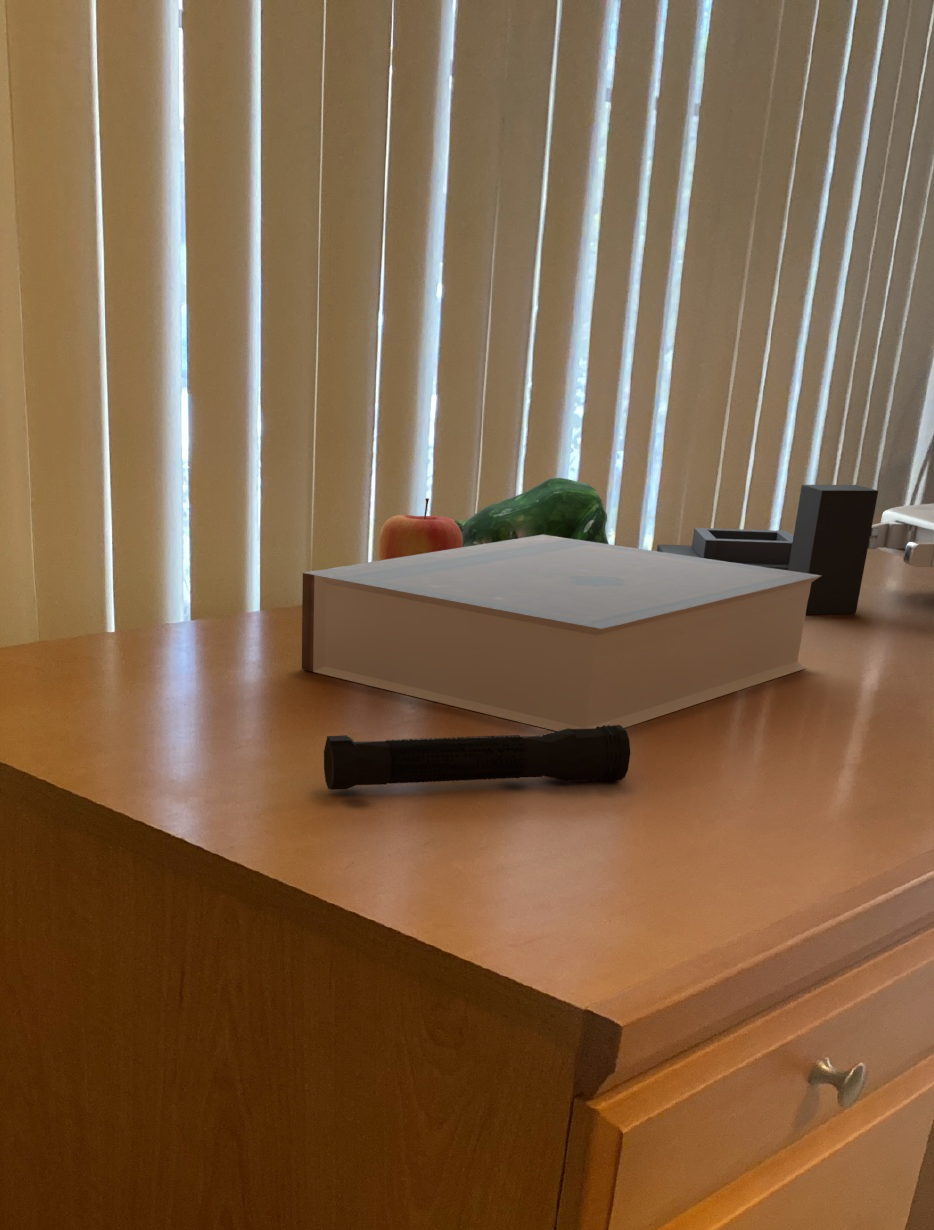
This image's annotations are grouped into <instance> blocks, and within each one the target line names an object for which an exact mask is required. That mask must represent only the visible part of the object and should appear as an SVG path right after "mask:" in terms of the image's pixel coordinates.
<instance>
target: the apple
mask: <svg viewBox="0 0 934 1230" xmlns="http://www.w3.org/2000/svg"><path fill="white" fill-rule="evenodd" d="M429 501H430V498H428V497H426V498H425V509H424V515H412V514H398V515H394V516H392V517H390V518H388V519H387V520H386V521H385V522H384V523H383V525H382V526H381V529H380V532H379V536H378V544H377V545H378V549H377V550H378V558H379V561H380V560H386V559H393V558H399V557H405V556H412V555H418V554H424V553H430V552H437V551H443V550H449V549H456V548H462V547H463V539H462V533H461V530H460V528H459V526H458V525H457V524H456V523H455V522H454V521H455V520H453V519H451V518H449V517H447V516H438V515H427V514H428V513H427V512H428V504H429Z"/></svg>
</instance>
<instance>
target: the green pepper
mask: <svg viewBox="0 0 934 1230" xmlns="http://www.w3.org/2000/svg"><path fill="white" fill-rule="evenodd" d="M453 521H454V522H455V523H456V524H457V525H458V526H459V528H460V530H461V533H462V539H463V547H468V546H474V545H481V544H487V543H493V542H500V541H506V540H512V539H518V538H525V537H531V536H537V535H549V536H555V537H562V538H569V539H576V540H583V541H590V542H596V543H603V544H609V541H608V537H607V531H606V526H607V522H608V514H607V509H606V507H605V505H604V503H603V500H602V498H601V496H600V494H599V493H598V492H597V490H596V488H595V487H593V486H592V485H590V484H588V483H587V482H583V481H577V480H574V479H573V480H572V479H570V478H563V477H553V478H549V479H546V480H544V481H542V482H541V483H539V484H537V485H536V486H534V487H532V488H529V489H528V490H526V491H524V492H522V493H520V494H517V495H515V496H513V497H509V498H507V499H504V500H501V501H499V502H494V503H491V504H490V505H487V506H485V507H483V508H482V509H481V510H479V511H477V512H476V513H474V514H473V515H472V516H471V517H469V518H468V519H465V520H458V519H456V520H453Z"/></svg>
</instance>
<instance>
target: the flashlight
mask: <svg viewBox="0 0 934 1230" xmlns="http://www.w3.org/2000/svg"><path fill="white" fill-rule="evenodd" d="M630 742H631V741H630V737H629V734H628V730H626V729H625V728H623V727H622V726H621V725H612V726H610V725H608V726H605V725H604V726H602V727H598V726H597V727H596V728H593V729H570V728H568V729H564V730H561V731H554V732H549V733H546V734H542V735H524V736H523V735H522V736H520V735H519V734H505V735H503V734H501V735H481V736H480V735H479V736H456V737H455V736H452V737H451V736H449V737H438V738H437V737H433V738H432V737H429V738H428V737H425V738H424V737H423V738H415V739H414V738H402V739H401V738H400V739H399V738H398V739H391V740H390V739H385V740H372V741H371V740H370V741H354V739H353V738H351V737H350V736H349V735H347V734H346V735H327V736H326V740H325V745H324V749H323V773H324V780H325V784H326V787H327V789H328V790H332V791H333V790H348V789H350V788H353V787H356V786H382V785H383V786H384V785H385V786H386V785H387V784H388V785H394V784H417V783H436V782H438V783H440V782H441V783H443V782H461V781H462V782H463V781H483V780H484V781H487V780H489V781H492V780H505V779H508V780H511V779H522V778H523V779H525V778H527V779H528V778H543V777H545V778H550V779H555V780H561V781H565V782H582V781H583V782H584V781H585V782H587V781H596V782H600V781H603V782H605V781H607V780H609V781H614V782H615V781H622V780H624V779H625V778H626V776H627V774H628V771H629V767H630V761H631V760H630V759H631V753H632V751H631V743H630Z"/></svg>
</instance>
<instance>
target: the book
mask: <svg viewBox="0 0 934 1230" xmlns="http://www.w3.org/2000/svg"><path fill="white" fill-rule="evenodd" d="M821 576H822V575H815V574H808V573H801V572H794V571H788V570H781V569H774V568H767V567H760V566H753V565H747V564H740V563H733V562H726V561H719V560H712V559H706V558H699V557H692V556H685V555H678V554H671V553H665V552H658V551H657V550H650V549H643V548H638V547H637V548H636V547H630V546H629V547H628V546H624V545H616V544H603V543H596V542H590V541H583V540H576V539H569V538H562V537H555V536H549V535H537V536H531V537H525V538H518V539H512V540H506V541H500V542H493V543H487V544H481V545H474V546H468V547H462V548H456V549H449V550H443V551H437V552H430V553H424V554H418V555H412V556H405V557H399V558H393V559H386V560H380V559H379V560H374V561H368V562H363V563H356V564H350V565H343V566H337V567H331V568H324V569H317V570H312V571H306V572H302V592H301V593H302V595H301V597H302V600H301V601H302V605H301V606H302V608H301V609H302V611H301V670H305V671H307V672H313V673H316V674H320V675H325V676H329V677H333V678H336V679H341V680H346V681H350V682H354V683H356V684H362V685H366V686H369V687H374V688H378V689H382V690H385V691H390V692H395V693H399V694H402V695H407V696H410V697H415V698H419V699H424V700H427V701H431V702H434V703H435V702H436V703H440V704H443V705H448V706H452V707H455V708H460V709H464V710H469V711H472V712H473V711H474V712H477V713H481V714H485V715H488V716H492V717H498V718H500V719H501V718H502V719H506V720H510V721H513V722H518V723H522V724H526V725H531V726H535V727H538V728H543V729H547V730H551V731H554V732H557V731H561V730H564V729H568V728H570V729H593V728H596V727H597V726H598V727H602V726H604V725H605V726H608V725H610V726H612V725H621V726H622V727H623V728H624V729H625V728H629V727H631V726H634V725H637V724H640V723H644V722H646V721H650V720H652V719H653V720H654V719H656V718H658V717H659V718H660V717H661V716H664V715H668V714H671V713H674V712H678V711H679V710H680V711H681V710H683V709H686V708H689V707H692V706H695V705H699V704H702V703H705V702H708V701H710V700H713V699H716V698H720V697H722V696H726V695H728V694H732V693H736V692H738V691H741V690H745V689H747V688H750V687H754V686H756V685H759V684H762V683H765V682H769V681H771V680H774V679H778V678H781V677H784V676H786V675H789V674H793V673H795V672H796V673H797V672H799V671H802V670H804V669H806V667H805V666H804V665H803V664H802V663H801V662H799V655H800V650H801V649H800V648H801V643H802V638H803V632H804V625H805V619H806V615H807V614H806V608H807V602H808V598H809V594H810V588H811V582H813V581H814V580H816V579H817V578H819V577H821Z"/></svg>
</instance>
